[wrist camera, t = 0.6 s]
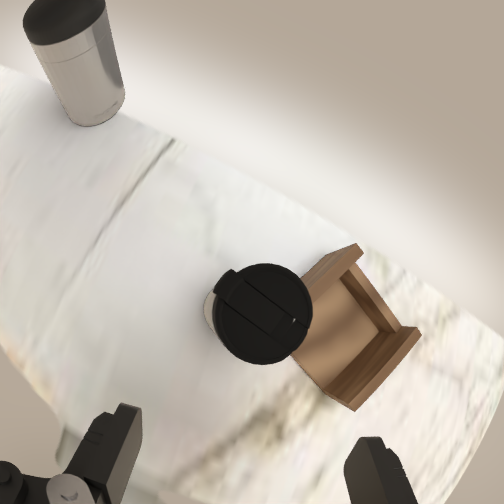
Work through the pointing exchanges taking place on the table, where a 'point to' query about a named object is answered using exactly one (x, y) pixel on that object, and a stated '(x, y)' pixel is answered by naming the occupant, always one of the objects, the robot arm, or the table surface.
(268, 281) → the travel mug
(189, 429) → the table surface
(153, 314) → the table surface
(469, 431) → the table surface
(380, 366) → the cradle
